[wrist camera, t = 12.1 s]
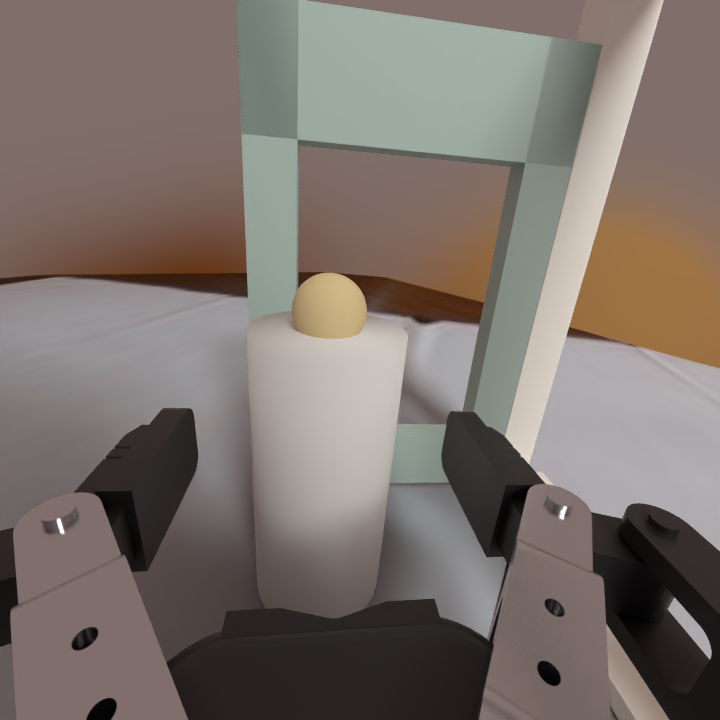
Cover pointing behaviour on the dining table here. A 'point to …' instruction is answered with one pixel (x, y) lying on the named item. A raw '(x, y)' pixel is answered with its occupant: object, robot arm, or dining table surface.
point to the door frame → (571, 253)
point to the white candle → (322, 446)
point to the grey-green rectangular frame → (412, 155)
